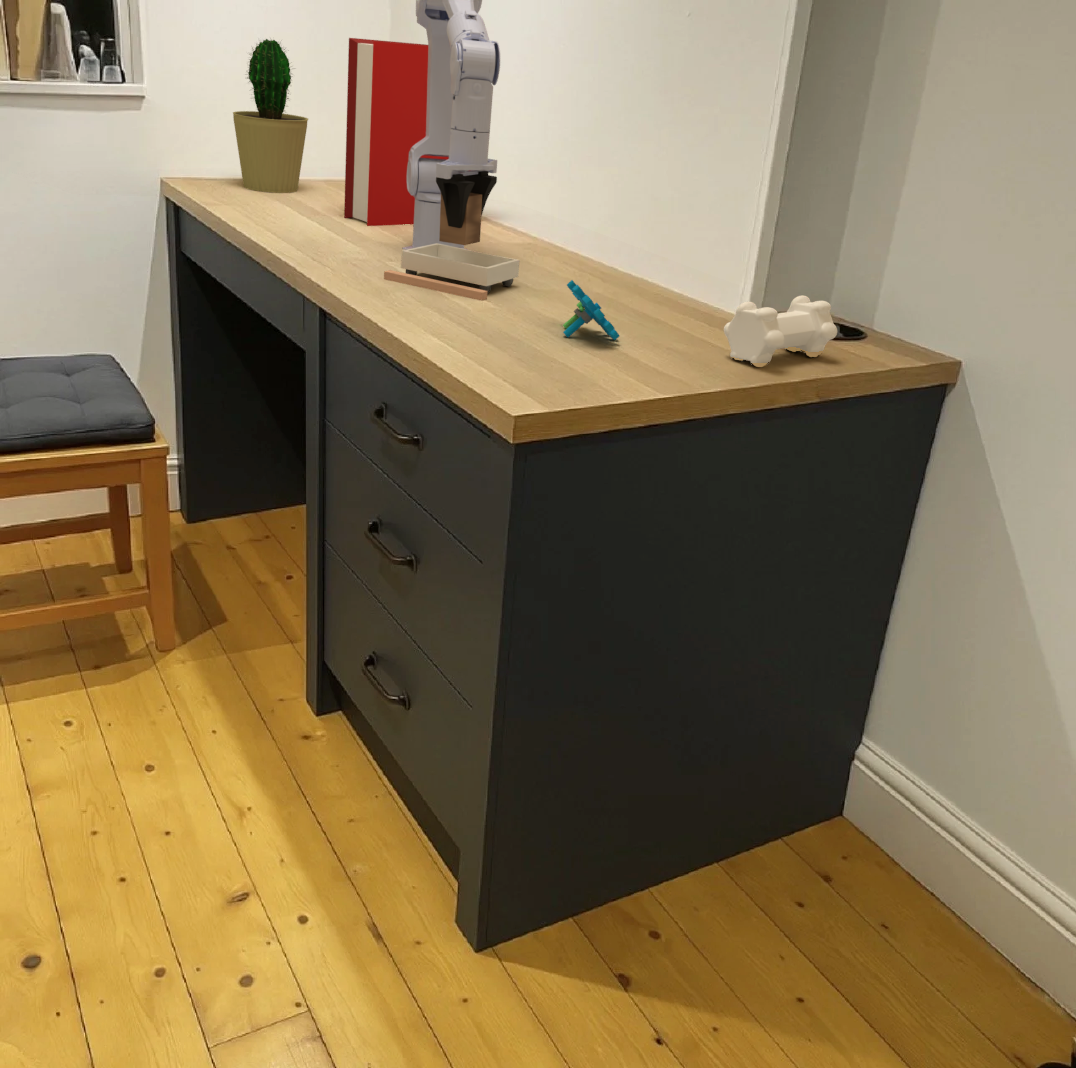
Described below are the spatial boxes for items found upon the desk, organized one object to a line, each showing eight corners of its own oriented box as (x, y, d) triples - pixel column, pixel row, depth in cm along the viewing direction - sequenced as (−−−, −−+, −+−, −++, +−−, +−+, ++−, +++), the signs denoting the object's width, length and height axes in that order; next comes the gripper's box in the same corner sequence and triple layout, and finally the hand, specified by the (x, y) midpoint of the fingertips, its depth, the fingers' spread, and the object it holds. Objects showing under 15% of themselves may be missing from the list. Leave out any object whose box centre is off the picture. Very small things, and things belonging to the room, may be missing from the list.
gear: (629, 338, 144) (581, 279, 141) (595, 368, 145) (546, 310, 142) (613, 328, 155) (568, 272, 152) (581, 356, 155) (535, 301, 152)
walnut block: (454, 237, 171) (456, 190, 168) (479, 241, 169) (482, 194, 166) (439, 241, 167) (440, 192, 164) (465, 245, 165) (467, 196, 163)
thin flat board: (460, 262, 186) (460, 253, 185) (550, 281, 179) (551, 271, 179) (383, 281, 167) (384, 271, 166) (481, 303, 161) (482, 292, 160)
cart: (435, 268, 177) (436, 243, 176) (517, 285, 172) (519, 259, 170) (400, 277, 169) (401, 250, 167) (485, 295, 163) (487, 268, 162)
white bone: (785, 349, 157) (792, 291, 154) (837, 360, 151) (845, 300, 148) (716, 361, 147) (722, 299, 145) (768, 372, 141) (776, 308, 139)
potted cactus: (322, 193, 238) (324, 41, 226) (260, 195, 228) (259, 36, 215) (280, 181, 248) (280, 35, 235) (219, 183, 237) (216, 30, 225)
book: (367, 226, 209) (373, 41, 195) (344, 218, 214) (348, 37, 201) (480, 221, 226) (493, 51, 212) (456, 214, 231) (467, 48, 218)
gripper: (468, 135, 154) (462, 234, 159) (517, 132, 166) (509, 224, 171) (425, 128, 156) (420, 226, 162) (476, 125, 168) (470, 217, 174)
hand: (463, 225), depth 167 cm, fingers closed on walnut block, 4 cm apart
